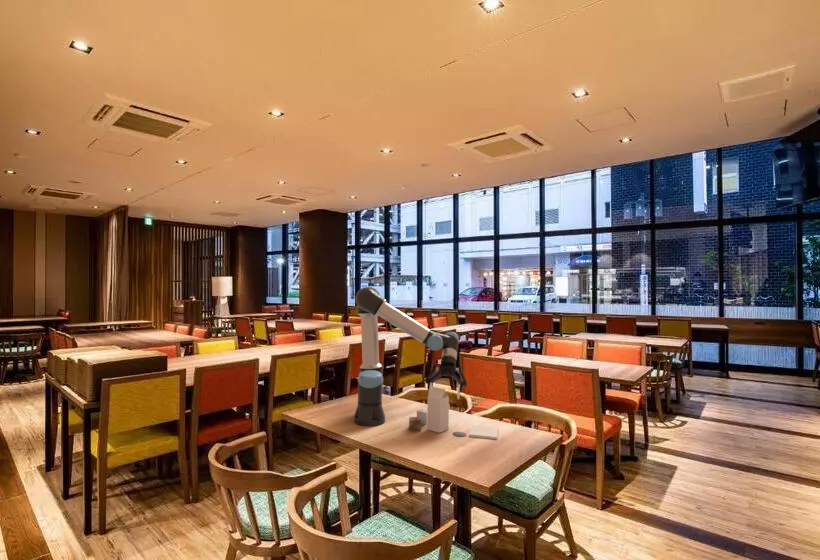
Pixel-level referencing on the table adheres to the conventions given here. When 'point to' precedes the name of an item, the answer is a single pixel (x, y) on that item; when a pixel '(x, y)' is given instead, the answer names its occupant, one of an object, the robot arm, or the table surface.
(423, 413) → the white small cylinder
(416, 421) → the walnut block
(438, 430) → the milk carton
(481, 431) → the plate
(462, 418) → the table surface
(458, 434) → the slate coaster
